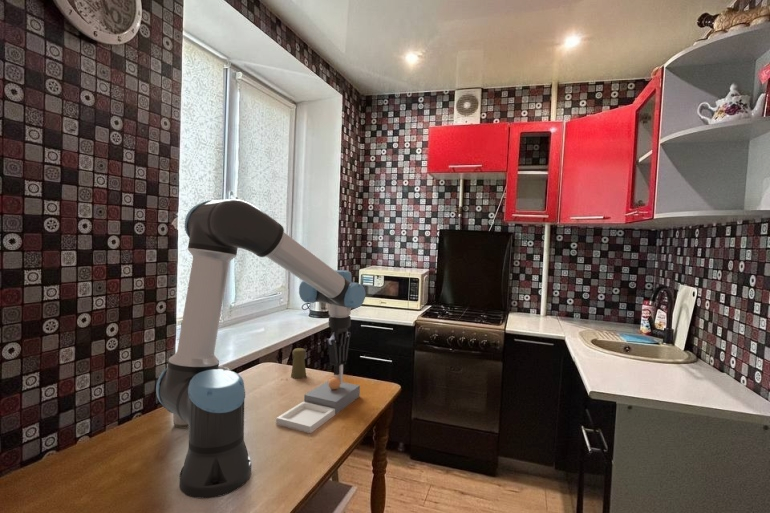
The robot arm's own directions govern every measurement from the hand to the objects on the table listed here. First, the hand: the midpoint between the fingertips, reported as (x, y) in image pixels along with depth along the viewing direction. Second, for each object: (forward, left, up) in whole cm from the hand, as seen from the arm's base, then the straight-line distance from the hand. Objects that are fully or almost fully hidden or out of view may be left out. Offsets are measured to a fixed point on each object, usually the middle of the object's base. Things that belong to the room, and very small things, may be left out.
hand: (338, 382), depth 139 cm
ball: (-3, 0, +1) cm, 3 cm away
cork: (+12, +25, -6) cm, 28 cm away
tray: (-19, 0, -5) cm, 19 cm away
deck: (-3, 0, -5) cm, 6 cm away
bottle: (-37, +29, -6) cm, 48 cm away
